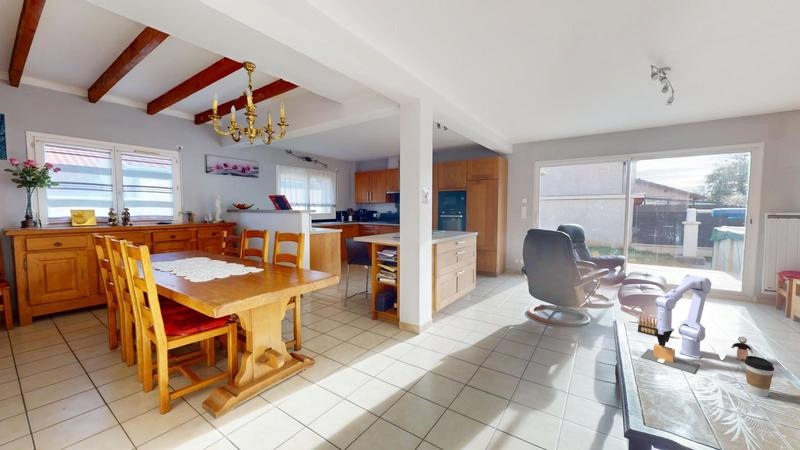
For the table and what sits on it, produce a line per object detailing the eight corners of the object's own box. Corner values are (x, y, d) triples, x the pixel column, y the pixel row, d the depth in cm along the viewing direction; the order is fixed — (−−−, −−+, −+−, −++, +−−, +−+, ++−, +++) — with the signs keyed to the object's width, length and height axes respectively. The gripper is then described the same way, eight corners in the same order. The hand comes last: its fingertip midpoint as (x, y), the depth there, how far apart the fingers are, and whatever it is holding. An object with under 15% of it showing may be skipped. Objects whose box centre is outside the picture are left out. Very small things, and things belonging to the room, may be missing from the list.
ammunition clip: (659, 336, 188) (659, 318, 188) (658, 337, 187) (659, 318, 186) (638, 331, 197) (638, 313, 196) (637, 331, 195) (638, 314, 195)
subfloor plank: (648, 349, 171) (648, 348, 171) (699, 364, 154) (699, 363, 154) (640, 357, 162) (640, 356, 162) (694, 374, 146) (694, 372, 146)
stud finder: (655, 354, 164) (655, 343, 164) (674, 359, 158) (675, 348, 158) (653, 356, 162) (653, 345, 162) (672, 362, 156) (673, 351, 155)
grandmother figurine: (750, 360, 157) (751, 337, 157) (753, 363, 154) (754, 339, 154) (729, 356, 162) (730, 333, 161) (732, 359, 159) (733, 336, 158)
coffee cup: (762, 389, 133) (764, 356, 132) (779, 400, 125) (780, 366, 124) (737, 385, 136) (739, 354, 135) (752, 396, 128) (754, 363, 127)
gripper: (671, 324, 152) (670, 350, 152) (677, 318, 160) (676, 342, 161) (653, 320, 157) (652, 345, 158) (660, 314, 166) (659, 338, 167)
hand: (663, 343), depth 160 cm, fingers open, 7 cm apart
